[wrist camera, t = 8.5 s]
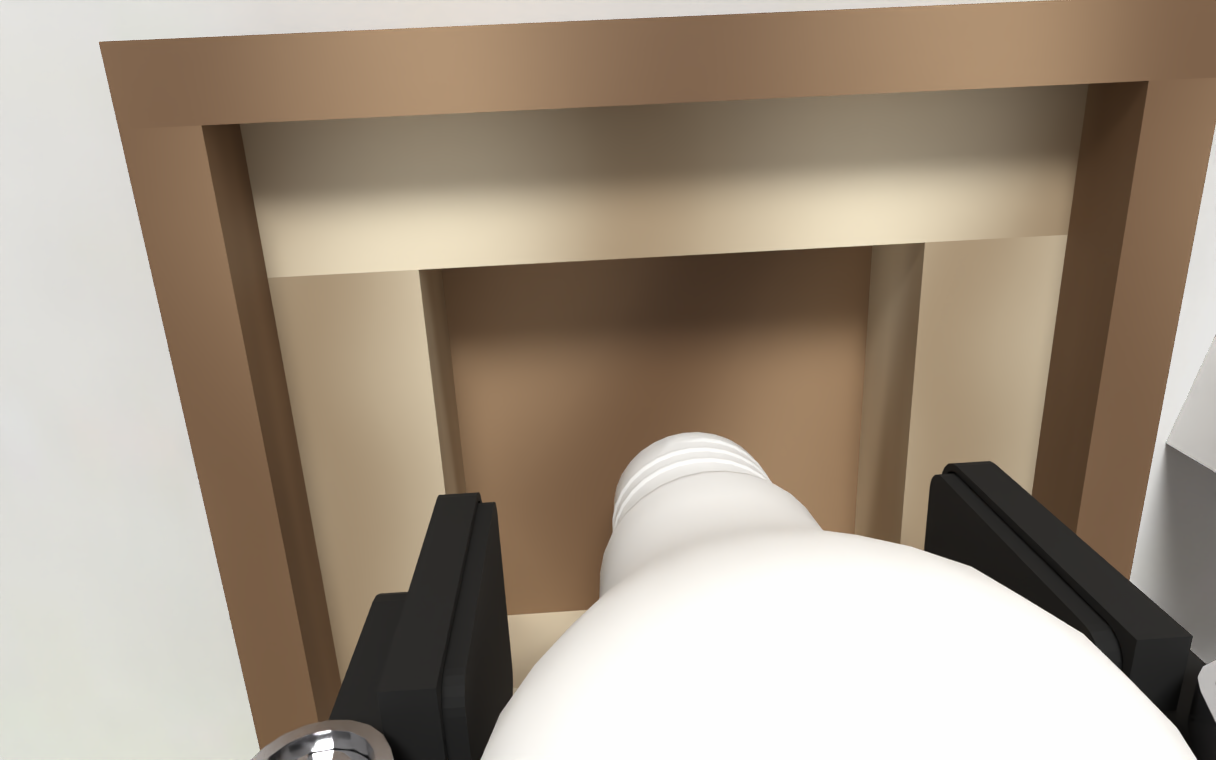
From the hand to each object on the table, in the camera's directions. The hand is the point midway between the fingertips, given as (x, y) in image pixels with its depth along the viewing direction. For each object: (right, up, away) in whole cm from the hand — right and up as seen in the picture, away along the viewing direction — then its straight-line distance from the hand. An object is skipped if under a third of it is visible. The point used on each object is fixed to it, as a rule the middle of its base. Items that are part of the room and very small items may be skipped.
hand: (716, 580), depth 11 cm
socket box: (0, +2, +5) cm, 5 cm away
